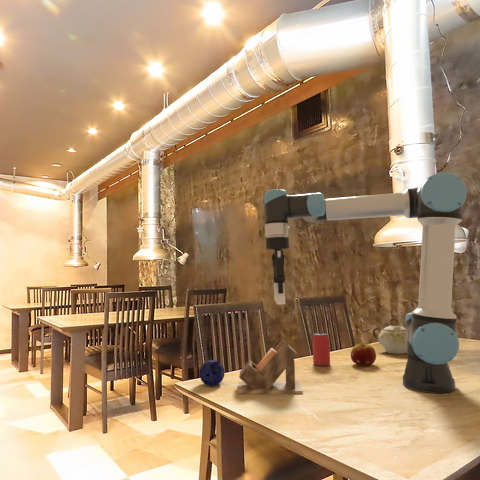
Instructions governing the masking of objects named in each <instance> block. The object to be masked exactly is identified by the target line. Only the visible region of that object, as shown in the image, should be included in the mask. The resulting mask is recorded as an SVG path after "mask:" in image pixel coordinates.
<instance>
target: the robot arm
mask: <svg viewBox="0 0 480 480" xmlns="http://www.w3.org/2000/svg"><path fill="white" fill-rule="evenodd" d="M467 194H468V189H467V185H466V183H465V181H464V180H463V179H462V178H461V177H459V176H458V175H457V174H456V173H455V174H454V173H451V172H447V171H446V172H445V171H443V172H437V173H434V174H432V175H430V176H428V177H427V178H425V179H424V180H423V182H422V183H421V185H420V186H418V187H413V188H406V189H405V190H404V191H403V192H393V193H382V194H381V193H380V194H373V195H372V194H370V195H369V194H368V195H358V196H357V195H356V196H348V197H347V196H345V197H334V198H325V196H324V194H323V193H321V192H310V193H303V194H300V193H299V194H293V195H292V194H291V195H289V194H288V192H287V190H286V189H282V188H281V189H279V188H278V189H277V188H275V189H274V188H273V189H268V190H267V191H266V192H264V204H263V205H264V220H265V221H264V223H265V224H264V231H265V235H264V236H265V237H266V238H265V249H266V250H270V251H272V250H273V253H272V255H271V262H272V268H273V296H274V297H273V298H274V299H273V300H274V302H276V305H278V306H279V305H286V285H285V280H286V277H285V254H284V250H288V249H289V248H290V239H289V237H288V236H289V231H290V230H291V227H290V226H289V219H299V218H302V219H303V221H305V222H306V223H307V222H308V223H311V224H314V223H317V222H325V221H336V220H337V221H340V220H353V219H355V220H356V219H369V218H384V217H399V216H402V217H403V216H404V217H406V218H407V219H416V218H417V221H418V223H420V224H421V226H422V233H421V234H422V235H421V249H420V251H421V253H420V269H419V271H420V272H419V286H418V287H419V289H418V306H417V307H416V308H415V309H414V310H413V311H412V312H408V313H406V315H405V319H404V324H405V328H406V338H407V353H406V355H407V361H406V364H405V368H404V374H402V385H403V386H404V387H406V388H408V389H411V390H413V391H418V392H424V393H434V394H435V393H436V394H440V393H442V394H443V393H444V392H445V393H451V392H454V391H456V380H455V378H453V375H452V371H451V369H450V366H449V365H450V364H449V362H451V361H452V360H454V359H455V357H456V356H457V355H458V353H459V350H460V341H459V337H458V334H457V325H458V324H457V321H458V319H457V315H456V314H455V313H454V312H453V311H452V301H453V299H452V298H453V280H454V278H453V277H454V264H455V263H454V262H455V261H454V260H455V241H456V228H457V227H458V225H459V224H460V223H461V222H463V208H464V207H463V205H464V203H465V201H466V199H467ZM453 390H454V391H453ZM450 391H451V392H450Z"/></svg>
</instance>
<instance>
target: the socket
mask: <svg viewBox="0 0 480 480" xmlns="http://www.w3.org/2000/svg"><path fill="white" fill-rule="evenodd" d="M274 350H275V351H277V352H276V354H275V355H274V356H273V357H272V359H271V360H270V361H269V362H268V364H267V365H266V366H265V367H264V369H263V370H262V371H261V372H260V373H259V372H258V371H257V370H256V369H255V368H256V366H257V365H258V364H255V363H254V362H253V361H252V360H251V359H249V360H248V361H247V362H246V363H245V365H244V366H243V367H242V369H241V370H240V371H239V376H238V377H239V379H240V380H241V381H238V382H237V383H238V384H237V390H236V394H237V395H275V394H276V395H281V394H282V395H285V394H286V395H293V394H295V395H297V394H298V395H299V394H300V395H303V394H304V390H303V387H302V385H301V383H300V381H299V380H296V371H295V366H296V365H295V357H297V355H298V353H297V350H295V349H294V348H293V347H292V346H291V345H290V344H288V343H287V342H286V341H285V340H284V339H281V341H280V342H279V343H278V344H277V346H276V347H274ZM283 372H285V381H284V380H282V381H281V380H278V378H279V377H280V376H281V375H282V374H283ZM277 380H278V381H277Z"/></svg>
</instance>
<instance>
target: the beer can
mask: <svg viewBox="0 0 480 480" xmlns="http://www.w3.org/2000/svg"><path fill="white" fill-rule="evenodd" d="M330 348H331V347H330V337H329V334H328V333H325V332H315V333H313V336H312V359H313V360H312V363H313V365H315V366H317V367H328V366H330V365H331V349H330Z"/></svg>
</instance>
